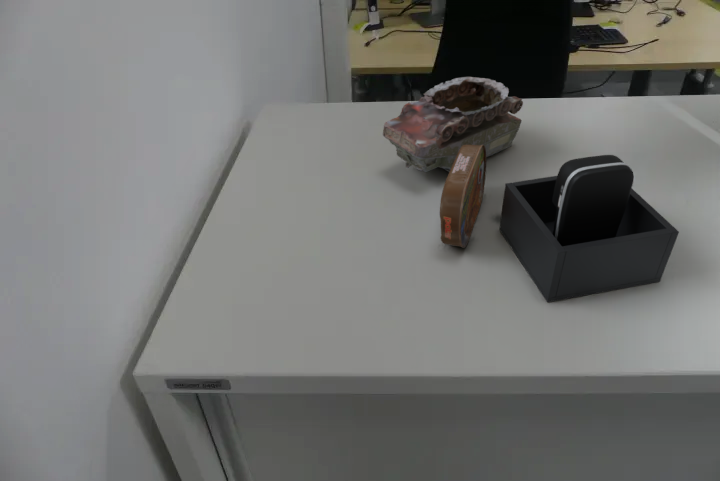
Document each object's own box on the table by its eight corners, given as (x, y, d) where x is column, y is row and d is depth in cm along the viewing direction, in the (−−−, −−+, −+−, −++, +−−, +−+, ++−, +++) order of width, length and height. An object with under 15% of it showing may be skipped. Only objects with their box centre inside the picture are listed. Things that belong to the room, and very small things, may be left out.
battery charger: (596, 235, 64) (620, 146, 57) (613, 256, 61) (641, 165, 54) (538, 243, 64) (555, 155, 56) (552, 265, 61) (572, 174, 53)
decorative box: (544, 163, 78) (556, 97, 72) (427, 210, 71) (429, 141, 65) (482, 127, 87) (488, 67, 81) (373, 165, 80) (370, 102, 74)
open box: (596, 213, 68) (609, 167, 64) (660, 281, 59) (679, 231, 55) (499, 230, 67) (505, 183, 63) (547, 302, 57) (558, 252, 53)
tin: (461, 262, 62) (466, 200, 57) (433, 257, 63) (436, 195, 58) (486, 191, 73) (492, 133, 68) (462, 187, 74) (466, 130, 69)
